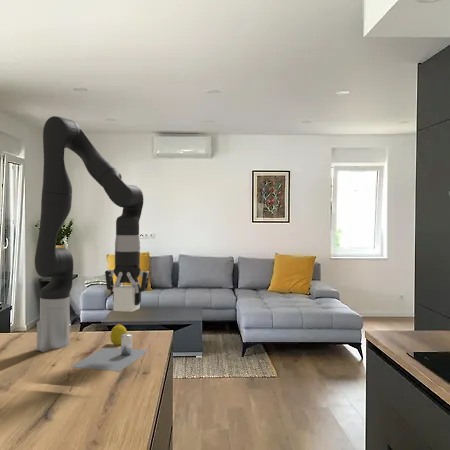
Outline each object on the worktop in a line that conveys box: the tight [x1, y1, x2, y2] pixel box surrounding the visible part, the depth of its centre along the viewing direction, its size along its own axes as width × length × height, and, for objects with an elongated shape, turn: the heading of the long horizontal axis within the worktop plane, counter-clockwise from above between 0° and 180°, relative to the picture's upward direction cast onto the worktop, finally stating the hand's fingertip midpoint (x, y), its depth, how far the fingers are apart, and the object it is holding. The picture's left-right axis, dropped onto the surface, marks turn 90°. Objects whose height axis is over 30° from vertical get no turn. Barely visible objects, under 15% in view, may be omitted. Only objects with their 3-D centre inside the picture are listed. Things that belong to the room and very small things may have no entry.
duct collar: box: [113, 284, 141, 313], centre depth 154 cm, size 6×6×7 cm
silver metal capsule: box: [120, 333, 133, 356], centre depth 154 cm, size 3×3×6 cm
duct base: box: [70, 346, 149, 372], centre depth 150 cm, size 15×22×2 cm
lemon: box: [110, 323, 128, 346], centre depth 167 cm, size 6×6×8 cm
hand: (127, 304), depth 154 cm, fingers closed on duct collar, 6 cm apart
